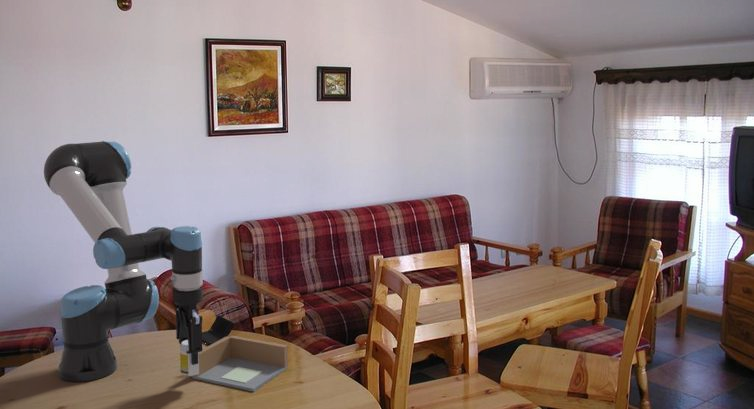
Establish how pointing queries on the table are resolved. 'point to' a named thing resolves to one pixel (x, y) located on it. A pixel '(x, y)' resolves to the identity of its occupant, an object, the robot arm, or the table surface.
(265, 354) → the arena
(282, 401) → the table surface
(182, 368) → the supplement bottle
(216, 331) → the handheld gaming console
